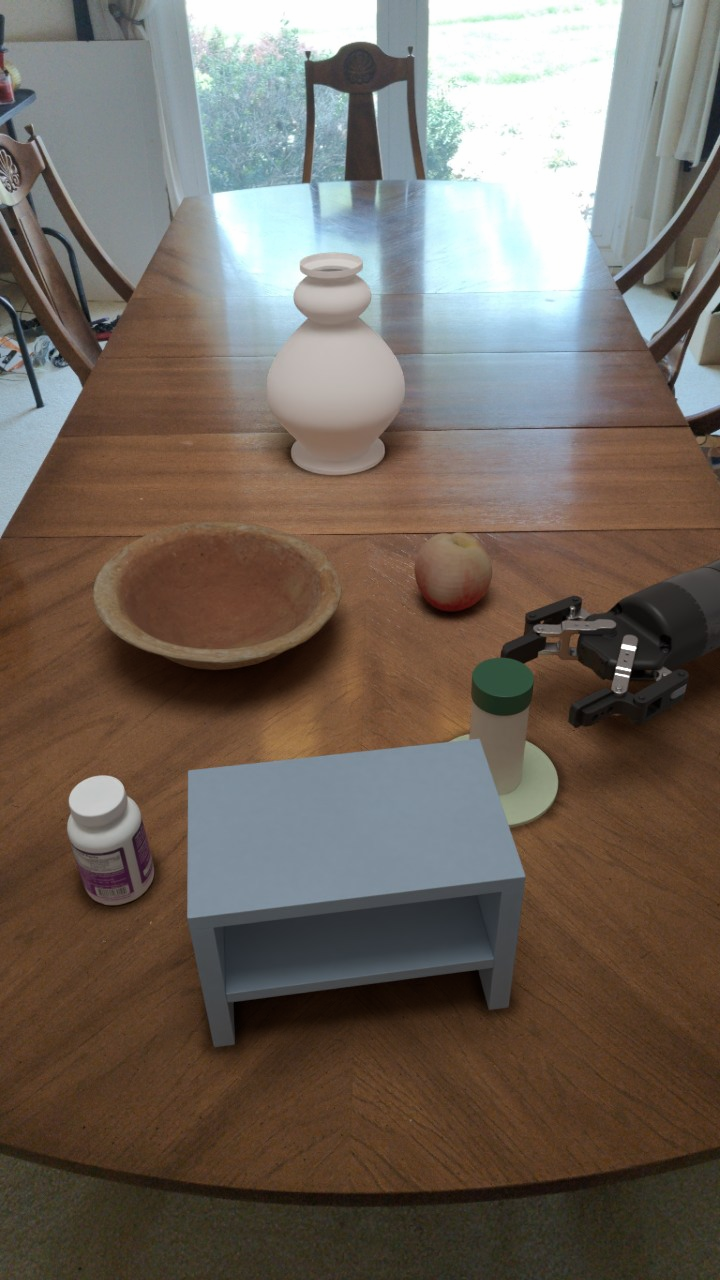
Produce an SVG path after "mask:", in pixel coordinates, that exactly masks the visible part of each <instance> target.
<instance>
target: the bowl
mask: <svg viewBox="0 0 720 1280" xmlns="http://www.w3.org/2000/svg"><path fill="white" fill-rule="evenodd" d="M92 589H93V590H92V598H93V606H94V608H95V611H96V613H97V615H98V618H99V619H100V620H101V621H102V623H103V624H104V625H105V627H107V628H108V630H109V631H111V632H112V633H113V634H114V635H116V636H117V637H118V638H120V639H122V640H123V641H124V642H126V643H128V644H130V645H132V646H133V647H136V648H137V649H140V650H142V651H145V652H146V653H151V654H153V655H158V656H161V657H163V658H165V659H167V660H169V661H171V662H173V663H176V664H178V665H181V666H184V667H188V668H193V669H200V670H212V671H218V670H219V671H221V670H230V669H231V670H233V669H239V668H243V667H249V666H253V665H258V664H260V663H263V662H266V661H268V660H271V659H274V658H275V657H277V656H279V655H281V654H282V653H284V652H286V651H288V650H291V649H294V648H295V647H298V646H299V645H301V644H303V643H305V642H307V641H308V640H310V639H311V638H312V637H313V636H314V635H316V634H317V633H318V632H319V631H320V630H321V629H322V628H323V627H324V626H325V625H326V624H327V622H328V621H329V620H330V619H331V618H332V617H333V616H334V614H335V612H336V611H337V609H338V606H339V604H340V603H341V602H340V601H341V599H342V591H343V589H342V582H341V578H340V574H339V573H338V570H337V569H336V567H335V566H334V564H333V563H332V562H331V560H330V558H329V557H328V556H327V555H326V554H325V553H324V552H323V551H322V550H320V549H318V548H317V547H316V546H315V545H313V544H311V543H309V542H307V541H305V540H304V539H301V538H300V537H298V536H296V535H292V534H290V533H287V532H285V531H282V530H279V529H275V528H272V527H267V526H263V525H261V524H255V523H246V522H235V521H202V522H195V521H188V522H184V523H183V522H182V523H180V524H177V525H174V526H170V527H167V528H163V529H159V530H156V531H154V532H151V533H149V534H146V535H143V536H141V537H139V538H138V539H136V540H133V541H131V542H129V543H128V544H127V545H124V546H123V547H122V548H120V549H119V550H118V551H117V552H116V553H114V554H113V555H112V556H111V557H109V559H108V560H107V561H106V562H105V563H104V564H103V566H102V567H101V568H100V569H99V572H98V573H97V576H96V578H95V580H94V584H93V588H92Z"/></svg>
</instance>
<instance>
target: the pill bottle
mask: <svg viewBox="0 0 720 1280" xmlns="http://www.w3.org/2000/svg"><path fill="white" fill-rule="evenodd" d="M68 806H69V811H70V814H69V816H68V820H67V824H66V833H67V837H68V840H69V843H70V846H71V849H72V852H73V856H74V858H75V861H76V865H77V868H78V871H79V874H80V877H81V880H82V883H83V886H84V889H85V891H86V893H87V894H88V896H89V897H90V898H91V899H92V900H94V901H95V902H97V903H99V904H102V905H104V906H120V905H123V904H128V903H130V902H132V901H135V900H137V899H139V898H140V897H141V896H143V894H145V893H146V892H147V891H148V889H149V887H150V886H151V884H152V883H153V881H154V876H155V867H154V861H153V856H152V853H151V847H150V844H149V841H148V836H147V832H146V828H145V825H144V820H143V817H142V812H141V810H140V807H139V806H138V804H137V803H136V802H135V800H133V798H131V797H130V796H128V795H127V791H126V789H125V786H124V784H123V783H122V781H120V780H119V778H116V777H115V776H111V775H103V774H101V775H94V776H91V777H87V778H86V779H84V780H82V781H80V782H79V783H77V784H76V785H75V786H74V787H73V788H72V790H71V792H70V793H69V796H68Z"/></svg>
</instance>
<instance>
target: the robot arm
mask: <svg viewBox="0 0 720 1280" xmlns="http://www.w3.org/2000/svg"><path fill="white" fill-rule="evenodd" d="M582 605H583V598H582V597H581V596H578V595H570V596H568V597H564V598H563V599H560V600H557V601H555V602H552V603H550V604H547V605H543V606H542V607H539V608H536V609H533V610H530V611H528V612H526V613H525V615H524V616H525V617H524V629H523V634H522V635H521V636H518V637H516V638H515V639H512V640H510V641H507V642H505V643H504V645H502V648H501V651H500V654H499V655H500V656H499V658H509V659H513V660H516V661H519V662H521V663H523V664H524V665H525V664H526V663H530V662H531V661H533V660H535V659H537V658H539V655H541V656H557V657H558V658H559V659H560V660H562V661H577V662H578V663H580V664H581V665H583V666H584V667H586V668H588V669H590V670H591V671H593V672H594V674H595V675H596V676H597V677H598V678H600V679H601V680H602V681H605V680H608V681H612V683H611V687H610V689H608V688H607V687H606V686H605V687H603V688H601V689H598V690H596V691H595V692H593V693H590V694H588V695H587V696H585V697H582V698H580V699H578V700H576V701H574V702H573V703H572V704H571V705H570V708H569V712H568V719H567V722H568V723H569V724H570V725H571V726H572V727H573V728H575V729H578V728H580V727H583V728H585V727H586V728H587V727H592V726H593V725H595V724H596V723H599V722H601V721H603V720H604V719H607V718H609V717H611V716H615V717H618V716H621V715H622V716H625V717H628V721H629V722H630V723H631V725H634V726H642V725H643V724H645V723H647V722H649V721H651V720H652V719H653V718H655V717H657V716H659V715H660V714H662V713H663V712H665V711H667V710H668V709H670V708H672V707H673V706H675V705H676V704H679V703H680V702H681V701H683V700H684V698H685V694H686V690H687V686H688V682H689V678H690V673H689V672H688V671H687V670H685V669H681V668H682V667H684V666H686V665H688V664H690V663H691V662H694V661H696V660H697V659H699V658H701V657H704V656H705V655H707V654H709V653H711V652H713V651H715V650H717V649H719V648H720V557H719V558H717V559H715V560H713V561H710V562H708V563H706V564H704V565H701V566H700V567H697V568H694V569H691V570H687V571H683V572H680V573H677V574H675V575H672V576H669V577H667V578H665V579H663V580H661V581H659V582H656V583H654V584H651V585H650V586H647V587H644V588H643V589H641V590H639V591H638V590H637V591H636V592H634V593H632V594H630V595H627V596H625V597H623V598H621V599H620V600H619V601H617V602H616V603H615V604H614V606H613V607H611V608H610V609H609V610H608V611H606V612H600V613H592V614H591V613H590V612H588V611H587V610H586V609H585V608H583V606H582ZM541 622H542V623H541ZM574 635H578V638H577V642H576V646H575V647H574V646H570V642H571V637H572V636H574ZM547 638H557V639H558V638H559V639H558V641H557V642H552V641H551V642H550V641H549V642H548V641H547ZM631 682H642V683H651V684H649V685H648V686H645V687H644V688H642V689H641V690H639V691H638V692H635V693H632V692H630V691H629V687H630V683H631ZM652 682H653V683H652Z"/></svg>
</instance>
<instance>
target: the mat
mask: <svg viewBox="0 0 720 1280" xmlns="http://www.w3.org/2000/svg"><path fill="white" fill-rule="evenodd" d="M469 734H470V733H467V734H464V735H463V734H462V735H459V736H457V737H455V738H453V739H451V740H449V741H448V742H453V741H463V740H469ZM558 790H559V776H558V772H557V769H556V767H555V766H554V764H553V762H552V760H551V759H550V757H549V756H548V755H547V754H546V753H545V752H544V751H543V750H541V749H540V748H539V747H538V746H537V745H535V744H533V743H532V742H530V741H528V740H526V742H525V751H524V759H523V768H522V776H521V782H520V784H519V786H518V787H517V788H516V789H515V790H514V791H512V792H510V793H507V794H504V795H499V798H500V801H501V804H502V807H503V810H504V813H505V816H506V819H507V822H508V825H509V828H510V829H512V828H517V827H521V826H525V825H528V824H530V823H532V822H534V821H536V820H538V819H539V818H541V817H542V816H543V815H544V814H545V813H547V812H548V811H549V809H551V807H552V806H553V804H554V803H555V800H556V798H557V794H558Z"/></svg>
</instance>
